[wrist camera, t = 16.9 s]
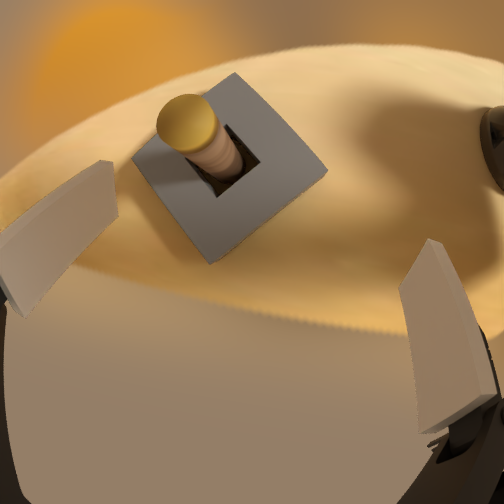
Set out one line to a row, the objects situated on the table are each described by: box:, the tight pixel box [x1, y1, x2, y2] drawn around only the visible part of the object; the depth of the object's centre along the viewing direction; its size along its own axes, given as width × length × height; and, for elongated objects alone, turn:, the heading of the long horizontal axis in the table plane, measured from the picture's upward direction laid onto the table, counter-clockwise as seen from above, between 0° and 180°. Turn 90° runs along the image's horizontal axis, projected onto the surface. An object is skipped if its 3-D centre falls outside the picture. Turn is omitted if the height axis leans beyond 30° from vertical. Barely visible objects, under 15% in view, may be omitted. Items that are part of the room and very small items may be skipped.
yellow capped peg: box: [156, 94, 245, 184], centre depth 25 cm, size 4×4×16 cm
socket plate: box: [131, 72, 328, 264], centre depth 31 cm, size 16×16×4 cm
